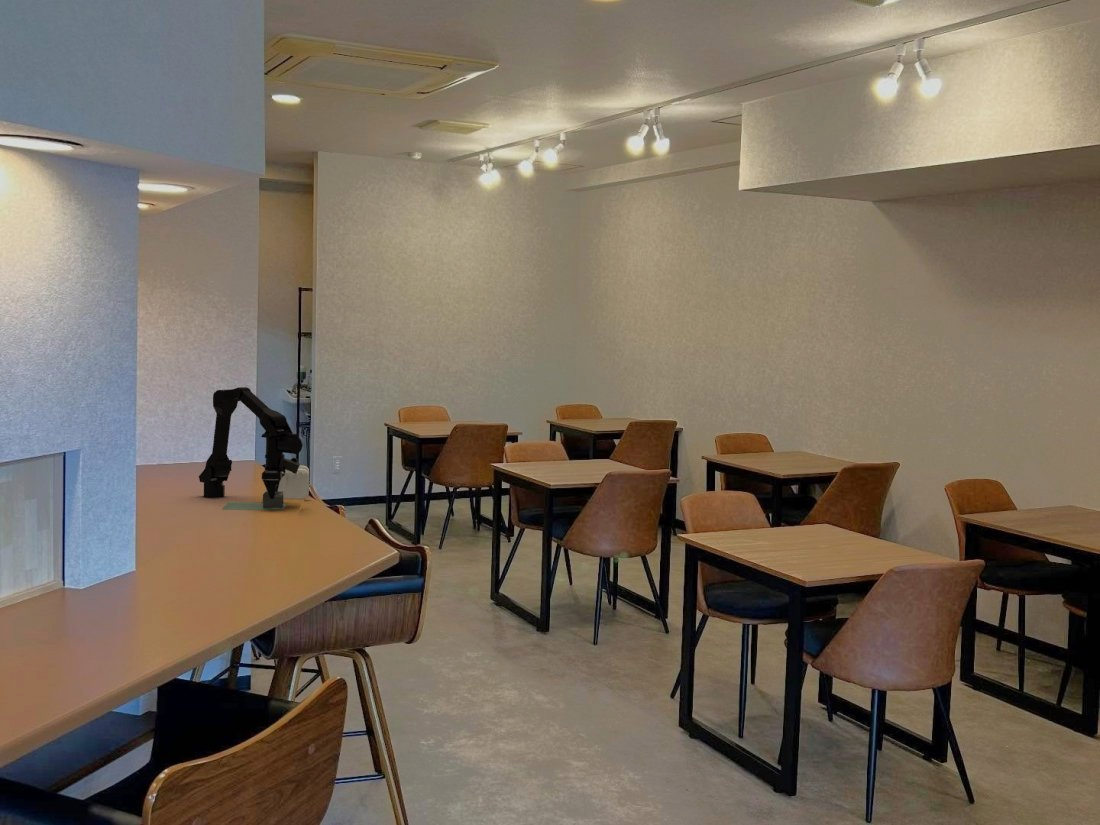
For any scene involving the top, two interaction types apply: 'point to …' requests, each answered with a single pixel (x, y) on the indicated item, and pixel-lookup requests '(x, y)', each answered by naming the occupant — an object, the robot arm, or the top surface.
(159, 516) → the top surface
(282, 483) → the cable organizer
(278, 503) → the plug
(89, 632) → the top surface
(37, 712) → the top surface
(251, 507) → the header board
